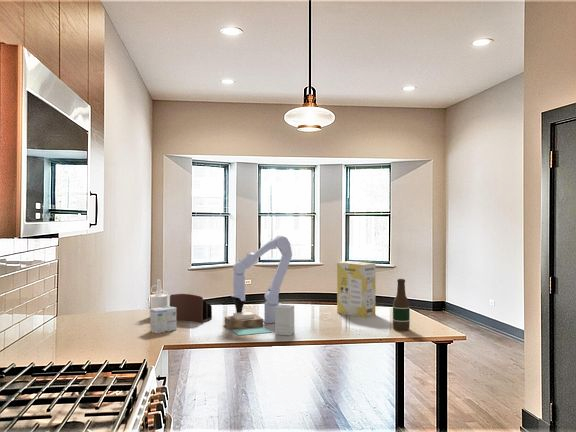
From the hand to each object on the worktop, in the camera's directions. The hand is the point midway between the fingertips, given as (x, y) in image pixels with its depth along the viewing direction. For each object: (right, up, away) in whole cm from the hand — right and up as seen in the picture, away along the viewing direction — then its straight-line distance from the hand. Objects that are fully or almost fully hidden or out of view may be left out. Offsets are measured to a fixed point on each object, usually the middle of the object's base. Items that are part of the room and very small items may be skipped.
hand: (239, 312), depth 255 cm
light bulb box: (-34, -5, -17) cm, 38 cm away
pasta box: (+62, -5, +22) cm, 66 cm away
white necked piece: (-44, -5, +15) cm, 47 cm away
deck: (+3, -5, -7) cm, 9 cm away
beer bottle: (+79, -5, -15) cm, 80 cm away
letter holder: (-26, -5, +8) cm, 28 cm away
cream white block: (+3, -1, -7) cm, 8 cm away
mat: (+8, -5, -19) cm, 21 cm away
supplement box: (+23, -5, -23) cm, 33 cm away
